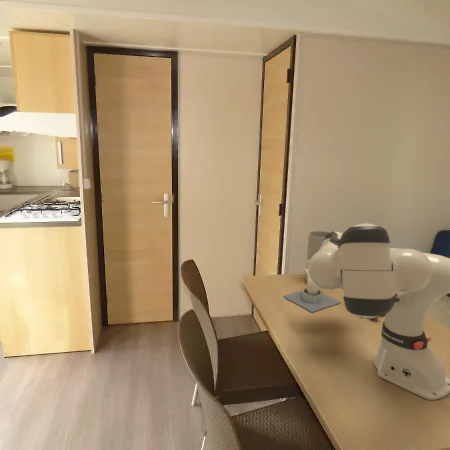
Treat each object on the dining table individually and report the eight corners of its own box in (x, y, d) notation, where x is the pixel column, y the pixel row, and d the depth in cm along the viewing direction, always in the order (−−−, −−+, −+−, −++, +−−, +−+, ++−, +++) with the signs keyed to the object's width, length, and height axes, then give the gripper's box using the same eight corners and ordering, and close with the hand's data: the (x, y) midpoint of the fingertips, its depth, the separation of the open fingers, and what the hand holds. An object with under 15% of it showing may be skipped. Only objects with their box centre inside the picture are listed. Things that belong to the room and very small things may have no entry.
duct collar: (326, 300, 164) (326, 293, 163) (311, 305, 159) (312, 297, 159) (311, 293, 171) (311, 286, 171) (297, 297, 167) (297, 290, 166)
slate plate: (340, 303, 163) (341, 302, 163) (312, 313, 153) (312, 311, 153) (311, 289, 178) (311, 288, 178) (283, 297, 168) (283, 296, 168)
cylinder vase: (335, 284, 183) (340, 236, 177) (313, 287, 179) (317, 238, 173) (321, 275, 195) (325, 230, 189) (300, 278, 191) (304, 231, 185)
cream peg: (319, 300, 164) (322, 271, 161) (309, 302, 162) (312, 272, 159) (309, 293, 172) (311, 264, 168) (300, 294, 170) (302, 265, 167)
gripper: (310, 276, 134) (299, 269, 148) (362, 287, 136) (346, 279, 150) (314, 259, 134) (302, 253, 147) (366, 270, 136) (350, 264, 150)
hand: (325, 266), depth 149 cm, fingers open, 8 cm apart
